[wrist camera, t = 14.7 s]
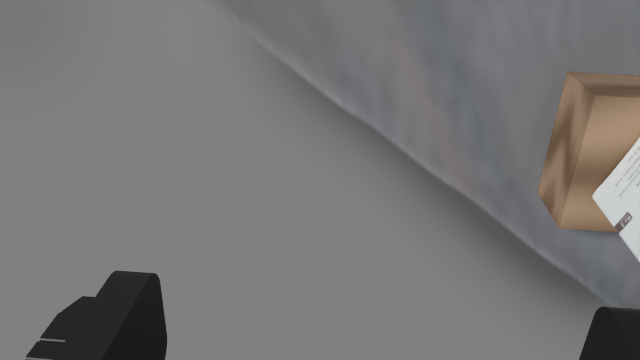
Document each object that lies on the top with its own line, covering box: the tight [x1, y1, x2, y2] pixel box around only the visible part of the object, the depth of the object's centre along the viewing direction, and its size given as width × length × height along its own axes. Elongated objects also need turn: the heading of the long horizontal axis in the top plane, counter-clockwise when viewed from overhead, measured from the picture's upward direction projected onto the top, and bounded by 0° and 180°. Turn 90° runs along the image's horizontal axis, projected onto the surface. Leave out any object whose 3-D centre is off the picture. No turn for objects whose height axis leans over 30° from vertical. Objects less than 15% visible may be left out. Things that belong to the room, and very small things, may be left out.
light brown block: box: [538, 72, 640, 232], centre depth 43 cm, size 11×11×6 cm
